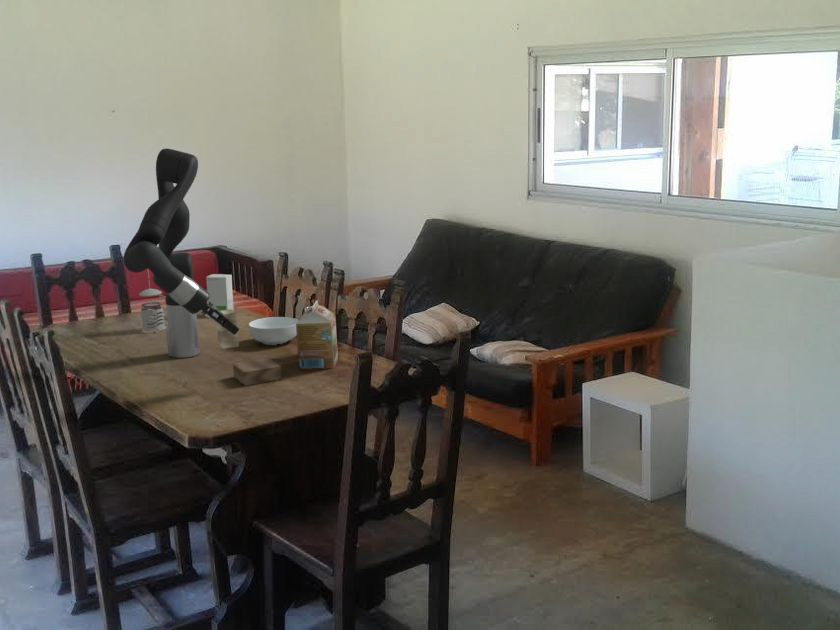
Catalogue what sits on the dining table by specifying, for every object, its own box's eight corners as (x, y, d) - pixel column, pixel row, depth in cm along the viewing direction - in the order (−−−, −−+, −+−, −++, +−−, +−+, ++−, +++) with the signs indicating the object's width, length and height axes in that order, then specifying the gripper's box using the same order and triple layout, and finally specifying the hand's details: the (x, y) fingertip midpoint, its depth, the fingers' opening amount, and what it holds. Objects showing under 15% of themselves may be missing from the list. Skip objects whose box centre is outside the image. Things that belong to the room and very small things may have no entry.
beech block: (223, 348, 265) (220, 314, 263) (218, 345, 269) (215, 311, 267) (238, 346, 267) (236, 312, 265) (234, 342, 271) (231, 309, 269)
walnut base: (245, 385, 268) (243, 372, 268) (234, 376, 278) (232, 363, 277) (281, 379, 273) (280, 366, 272) (269, 370, 283) (268, 357, 282)
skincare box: (208, 316, 360) (204, 277, 357) (214, 313, 366) (211, 273, 363) (229, 316, 359) (225, 276, 355) (235, 313, 365) (231, 273, 362)
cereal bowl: (267, 351, 306) (265, 330, 304) (240, 343, 318) (239, 322, 316) (310, 341, 316) (308, 321, 315) (283, 333, 329) (281, 314, 327)
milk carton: (304, 359, 294) (300, 300, 290) (337, 358, 293) (334, 299, 289) (299, 369, 283) (294, 307, 279) (333, 368, 283) (330, 306, 279)
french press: (135, 330, 342) (128, 262, 337) (164, 324, 350) (157, 258, 344) (147, 334, 335) (140, 265, 330) (177, 328, 343) (170, 261, 337)
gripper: (203, 287, 254) (249, 324, 262) (191, 279, 267) (235, 314, 275) (185, 309, 253) (232, 346, 261) (174, 299, 266) (219, 335, 274)
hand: (234, 329), depth 268 cm, fingers closed on beech block, 4 cm apart
